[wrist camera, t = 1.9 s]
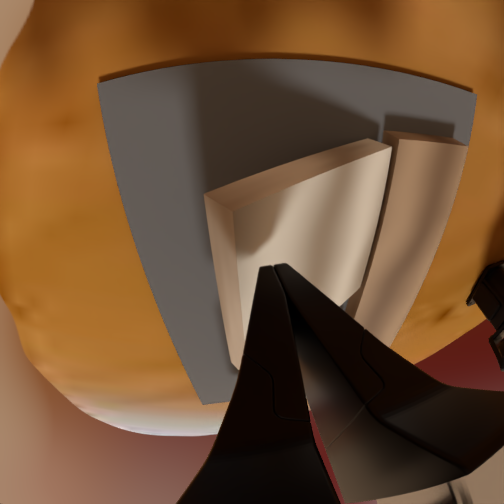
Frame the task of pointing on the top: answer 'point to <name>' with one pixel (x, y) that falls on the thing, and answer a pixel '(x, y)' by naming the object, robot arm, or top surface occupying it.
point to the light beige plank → (296, 227)
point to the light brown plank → (407, 228)
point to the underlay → (240, 164)
